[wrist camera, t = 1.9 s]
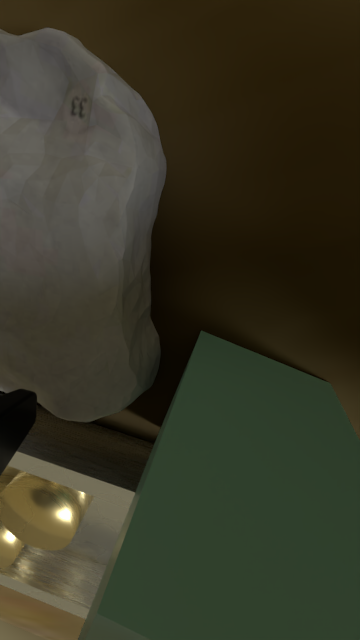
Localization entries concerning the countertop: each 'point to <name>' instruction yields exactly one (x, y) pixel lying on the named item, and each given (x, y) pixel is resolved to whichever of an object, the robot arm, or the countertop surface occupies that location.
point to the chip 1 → (8, 534)
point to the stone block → (75, 228)
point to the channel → (101, 517)
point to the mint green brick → (240, 512)
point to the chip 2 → (42, 511)
